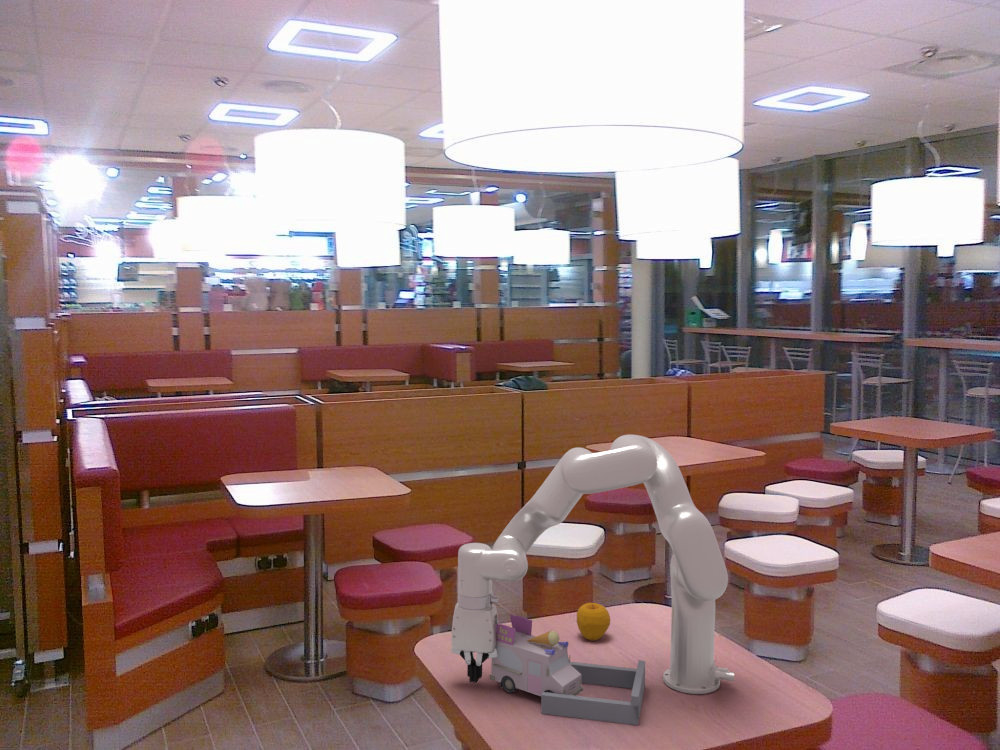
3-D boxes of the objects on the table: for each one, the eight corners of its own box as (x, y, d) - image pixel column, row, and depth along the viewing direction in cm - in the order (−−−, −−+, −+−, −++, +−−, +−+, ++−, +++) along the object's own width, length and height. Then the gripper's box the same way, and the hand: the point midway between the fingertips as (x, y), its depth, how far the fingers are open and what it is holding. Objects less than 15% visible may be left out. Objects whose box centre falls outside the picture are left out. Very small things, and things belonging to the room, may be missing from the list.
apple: (616, 638, 222) (617, 604, 221) (594, 647, 216) (595, 612, 215) (591, 629, 228) (591, 596, 227) (569, 637, 222) (569, 603, 221)
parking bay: (644, 686, 194) (645, 660, 194) (637, 725, 177) (638, 696, 176) (556, 677, 199) (556, 651, 198) (541, 713, 182) (541, 685, 181)
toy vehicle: (561, 714, 181) (562, 644, 180) (487, 688, 193) (487, 622, 192) (584, 698, 189) (585, 631, 187) (512, 674, 201) (512, 610, 199)
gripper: (511, 597, 194) (511, 676, 196) (447, 591, 198) (447, 669, 200) (503, 609, 187) (503, 691, 189) (437, 602, 191) (437, 683, 192)
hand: (474, 680), depth 194 cm, fingers closed
